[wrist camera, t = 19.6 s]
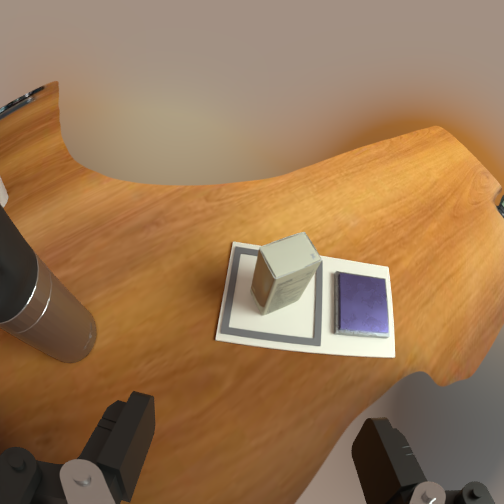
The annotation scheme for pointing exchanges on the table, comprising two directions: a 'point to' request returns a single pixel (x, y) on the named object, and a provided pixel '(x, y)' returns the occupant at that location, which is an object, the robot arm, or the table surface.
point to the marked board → (296, 311)
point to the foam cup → (3, 194)
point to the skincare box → (283, 272)
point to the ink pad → (360, 306)
